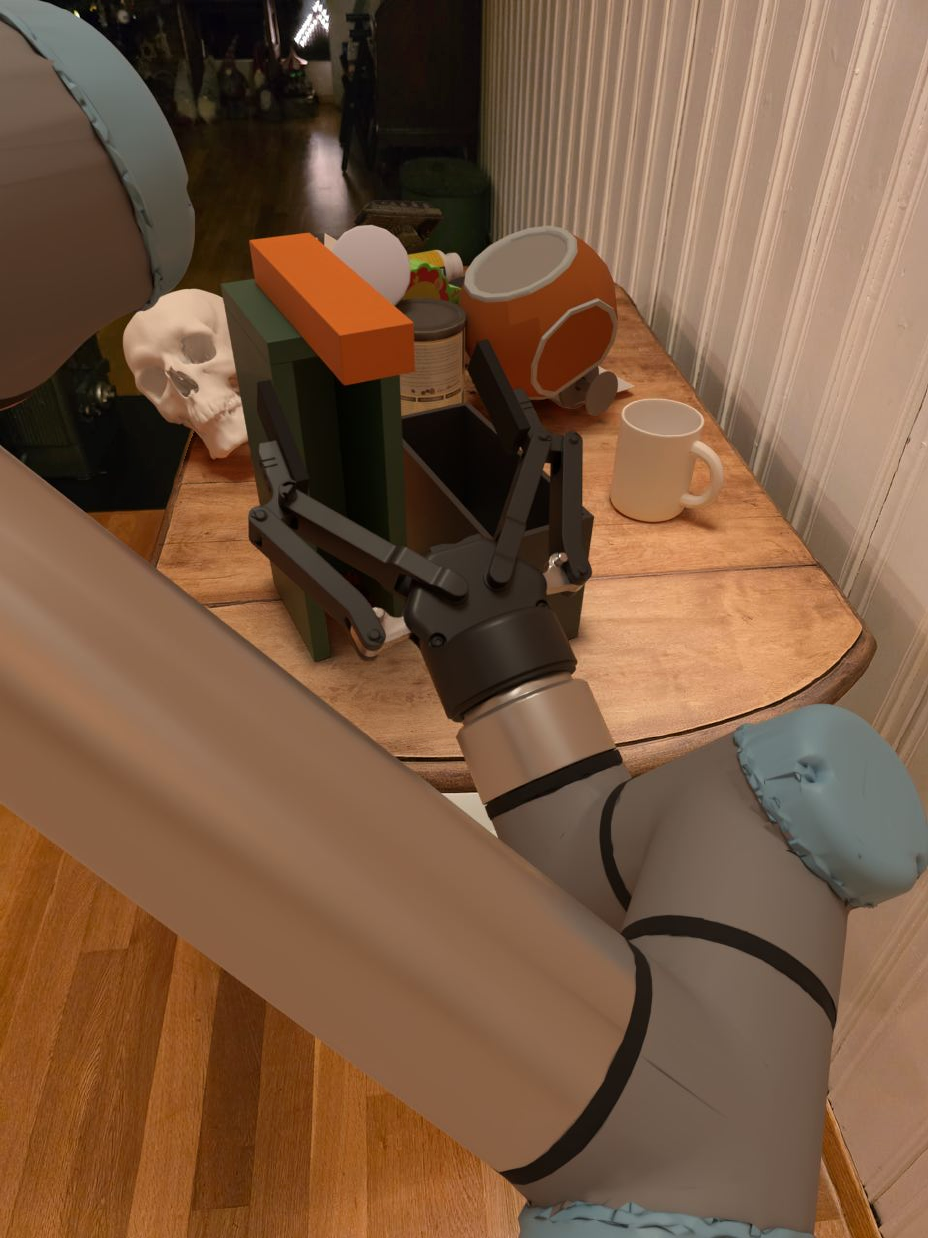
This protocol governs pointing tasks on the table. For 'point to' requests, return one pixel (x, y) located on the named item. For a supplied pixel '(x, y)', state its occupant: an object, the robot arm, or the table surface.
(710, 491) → the mug
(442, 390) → the coffee can
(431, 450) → the black open rectangular box
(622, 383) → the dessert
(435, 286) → the taco
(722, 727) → the table surface
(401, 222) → the toy tank
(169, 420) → the white skull
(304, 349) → the stand
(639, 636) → the table surface
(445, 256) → the pill bottle
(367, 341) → the orange rectangular bar
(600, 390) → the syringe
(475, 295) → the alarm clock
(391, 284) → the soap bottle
